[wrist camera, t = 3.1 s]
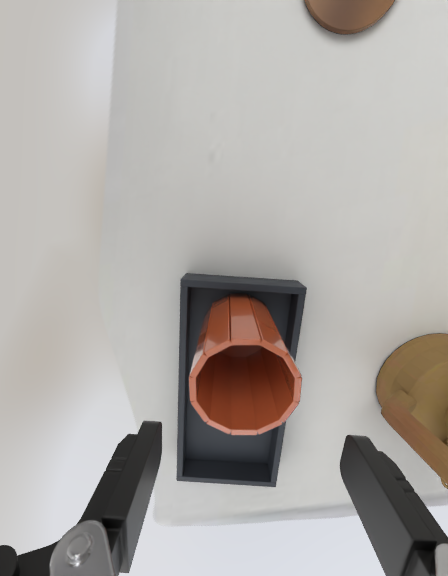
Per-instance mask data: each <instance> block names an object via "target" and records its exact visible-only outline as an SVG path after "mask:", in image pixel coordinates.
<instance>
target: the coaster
mask: <svg viewBox="0 0 448 576" xmlns="http://www.w3.org/2000/svg"><path fill="white" fill-rule="evenodd" d="M394 1H395V0H305V3H306V6H307V8H308V10H309V12H310V13H311V15H312V16H313V18H314V19H315V20H316V21H317V22H318V23H319V24H320V25H321V26H322V27H324V28H325V29H327V30H329V31H331V32H334V33H338V34H353V33H357V32H360V31H363V30H365V29H367V28H369V27H370V26H372V25H373V24H375V23H376V22H377V21H378V20H380V19H381V18H382V17H383V16H384V14H385V13H386V12H387V11H388V9H389V8H390V7H391V5H392V4H393V2H394Z"/></svg>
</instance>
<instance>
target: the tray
mask: <svg viewBox="0 0 448 576" xmlns="http://www.w3.org/2000/svg"><path fill="white" fill-rule="evenodd" d="M306 290H307V288H306V287H305V286H304V285H302V284H301V283H300V282H299V281H294V280H279V279H264V278H249V277H234V276H219V275H204V274H189V273H186V274H185V275H184V276H183V278H182V279H181V294H180V342H179V390H178V438H177V481H189V482H204V483H220V484H236V485H251V486H267V487H276V481H277V475H278V468H279V462H280V455H281V449H282V443H283V436H284V430H285V423H286V421H285V422H284V423H283V422H282V425H279V426H277V427H275V428H273V429H271V430H268V431H266V432H264V433H262V434H258V432H257V435H231V432H230V434H227V433H225V432H223V431H221V430H219V429H217V428H214V427H212V426H210V425H208V424H207V423H206V422H207V421H206V422H204V421H203V419H202V418H201V416H200V415H199V414H198V412H197V411H196V409H195V408H194V407H193V405H192V404H191V401H190V391H189V375H190V371H191V367H192V363H193V359H194V355H195V352H196V348H197V344H198V340H199V336H200V332H201V328H202V324H203V320H204V317H205V315H206V313H207V311H208V310H209V308H210V306H211V305H212V303H213V302H215V301H217V300H218V299H220V298H222V297H224V296H226V295H227V294H229V295H230V294H250V295H252V296H253V297H255V298H257V299H259V300H261V301H262V302H264V303H265V305H266V306H267V308H268V310H269V312H270V313H271V315H272V317H273V319H274V321H275V323H276V325H277V327H278V329H279V331H280V333H281V335H282V337H283V339H284V341H285V343H286V345H287V347H288V349H289V351H290V353H291V355H292V358H293V360H294V362H295V359H296V353H297V347H298V340H299V334H300V327H301V321H302V315H303V308H304V302H305V295H306Z"/></svg>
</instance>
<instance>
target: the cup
mask: <svg viewBox="0 0 448 576" xmlns="http://www.w3.org/2000/svg"><path fill="white" fill-rule="evenodd" d="M301 382H302V377H301V374H300V372H299V370H298V368H297V366H296V364H295V362H294V360H293V358H292V355H291V353H290V351H289V349H288V347H287V345H286V343H285V341H284V339H283V337H282V335H281V333H280V331H279V329H278V327H277V325H276V323H275V321H274V319H273V317H272V315H271V313H270V312H269V310H268V308H267V306H266V305H265V303H264V302H262V301H261V300H259V299H257V298H255V297H253V296H252V295H250V294H230V295H229V294H227V295H226V296H224V297H222V298H220V299H218V300H217V301H215V302H213V303H212V305H211V306H210V308H209V310H208V311H207V313H206V315H205V317H204V320H203V324H202V328H201V332H200V336H199V340H198V344H197V348H196V352H195V355H194V359H193V363H192V367H191V371H190V375H189V391H190V401H191V404H192V405H193V407H194V408H195V409H196V411H197V412H198V414H199V415H200V416H201V418H202V419H203V421H204V422H206V421H207V422H206V423H207V424H208V425H210V426H212V427H214V428H217V429H219V430H221V431H223V432H225V433H227V434H230V432H231V435H257V432H258V434H262V433H264V432H266V431H268V430H271V429H273V428H275V427H277V426H279V425H282V422H283V423H284V422H285V421H286V420H287V418H288V417H289V416H290V415H291V413H292V412H293V411H294V409H295V408H296V407H297V406H298V404H299V402H300V393H301Z"/></svg>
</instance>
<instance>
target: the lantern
mask: <svg viewBox="0 0 448 576" xmlns="http://www.w3.org/2000/svg"><path fill="white" fill-rule="evenodd" d="M376 394H377V397H378V401H379V404H380V405H381V407H382V410H381V414H382V415H383V417H384V418H385V419H386V421H387V422H388V423H389V425H390V426H391V427H392V428H393V429H394V430H395V431H396V432H397V433H398V434H399V435H400V436H401V437H402V438H403V439H404V440H405V441H406V442H407V443H408V444H409V445H410V446H411V447H412V448H413V449H414V450H415V451H416V453H417V454H418V455H419V456H420V457H421V458H422V459H423V460H424V461H425V462H426V463H427V464H428V465H429V466H430V467H431V468H432V469H433V470H434V471H435V472H436V473H437V474H438V475H439V476H440V477H441V481H442V484H443V485H444V487H446V488H447V489H448V334H440V333H439V334H428V335H424V336H421V337H417V338H415V339H413V340H411V341H409V342H406V343H405V344H403V345H402V346H401V347H399V348H398V349H397V350H395V351H394V352H393V353H392V354H391V355H390V356H389V357H388V359H387V360H386V361H385V363H384V364H383V366H382V368H381V370H380V372H379V375H378V378H377V386H376ZM445 483H446V484H447V485H446V484H445Z"/></svg>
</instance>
